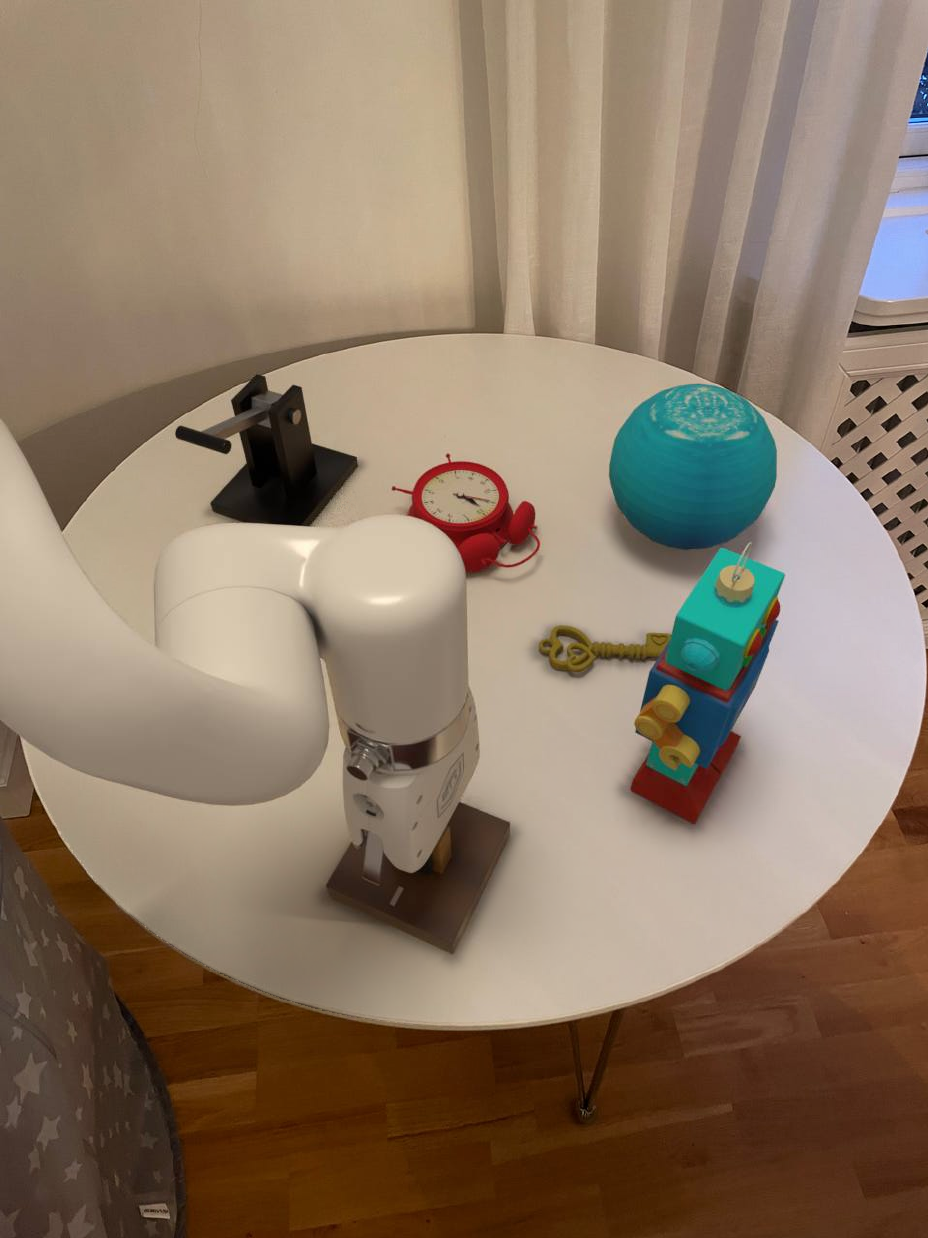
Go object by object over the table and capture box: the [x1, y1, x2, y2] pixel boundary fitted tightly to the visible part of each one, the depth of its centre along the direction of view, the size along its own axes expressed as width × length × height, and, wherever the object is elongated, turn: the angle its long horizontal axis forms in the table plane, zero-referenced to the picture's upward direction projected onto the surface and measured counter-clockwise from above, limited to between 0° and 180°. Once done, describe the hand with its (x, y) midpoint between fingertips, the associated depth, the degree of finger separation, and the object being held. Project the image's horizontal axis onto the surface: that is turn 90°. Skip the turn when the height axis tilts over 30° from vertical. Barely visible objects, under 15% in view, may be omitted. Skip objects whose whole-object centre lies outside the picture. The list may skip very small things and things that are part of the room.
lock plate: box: [325, 801, 511, 955], centre depth 68 cm, size 10×10×2 cm
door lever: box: [174, 389, 284, 455], centre depth 84 cm, size 12×5×2 cm, turn 155°
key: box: [538, 625, 671, 673], centre depth 81 cm, size 12×1×5 cm
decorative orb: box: [608, 383, 778, 551], centre depth 85 cm, size 15×15×15 cm
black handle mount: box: [209, 373, 359, 527], centre depth 91 cm, size 12×10×12 cm
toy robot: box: [629, 541, 786, 825], centre depth 64 cm, size 12×6×25 cm, turn 147°
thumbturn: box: [432, 826, 451, 874], centre depth 66 cm, size 4×2×5 cm, turn 65°
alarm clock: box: [391, 453, 541, 573], centre depth 89 cm, size 10×6×15 cm
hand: (419, 848), depth 67 cm, fingers closed on thumbturn
